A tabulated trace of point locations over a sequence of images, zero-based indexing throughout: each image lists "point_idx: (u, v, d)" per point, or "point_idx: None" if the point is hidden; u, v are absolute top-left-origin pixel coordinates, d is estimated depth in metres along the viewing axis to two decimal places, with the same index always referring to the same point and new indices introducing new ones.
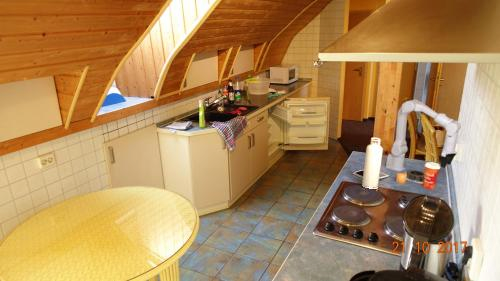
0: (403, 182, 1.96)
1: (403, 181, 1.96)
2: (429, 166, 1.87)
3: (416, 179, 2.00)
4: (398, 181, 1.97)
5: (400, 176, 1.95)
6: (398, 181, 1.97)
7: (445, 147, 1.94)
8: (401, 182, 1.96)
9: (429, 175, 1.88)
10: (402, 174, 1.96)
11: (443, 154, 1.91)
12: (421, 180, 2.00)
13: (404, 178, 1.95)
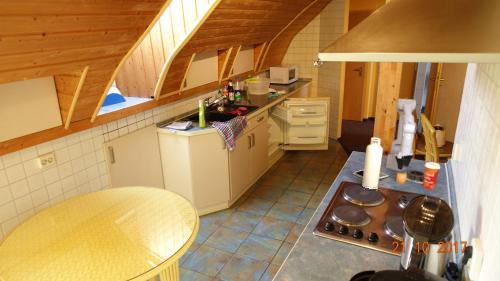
0: (403, 182, 1.96)
1: (403, 181, 1.96)
2: (429, 166, 1.87)
3: (416, 179, 2.00)
4: (398, 181, 1.97)
5: (400, 176, 1.95)
6: (398, 181, 1.97)
7: (401, 149, 1.92)
8: (401, 182, 1.96)
9: (429, 175, 1.88)
10: (402, 174, 1.96)
11: (399, 156, 1.89)
12: (421, 180, 2.00)
13: (404, 178, 1.95)
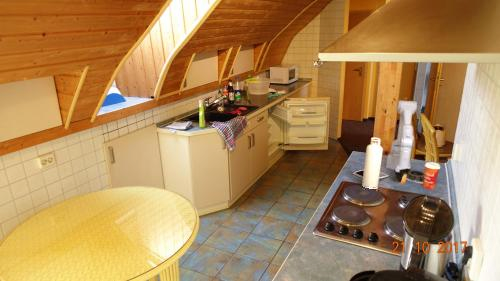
0: (403, 182, 1.96)
1: (403, 181, 1.96)
2: (429, 166, 1.87)
3: (416, 179, 2.00)
4: None
5: None
6: None
7: (399, 162, 1.94)
8: (401, 182, 1.96)
9: (429, 175, 1.88)
10: None
11: (397, 169, 1.91)
12: (421, 180, 2.00)
13: (404, 178, 1.95)
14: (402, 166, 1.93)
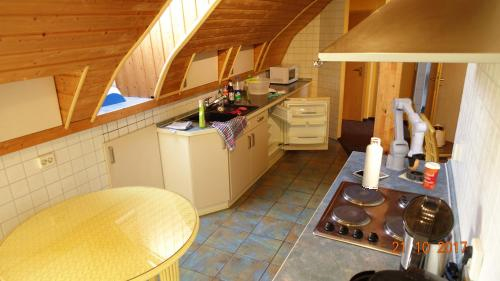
0: (415, 167, 1.98)
1: (415, 166, 1.98)
2: (429, 166, 1.87)
3: (416, 179, 2.00)
4: None
5: None
6: (410, 167, 1.99)
7: (412, 147, 1.96)
8: (413, 167, 1.98)
9: (429, 175, 1.88)
10: None
11: (409, 154, 1.93)
12: (421, 180, 2.00)
13: (416, 163, 1.98)
14: (414, 151, 1.95)
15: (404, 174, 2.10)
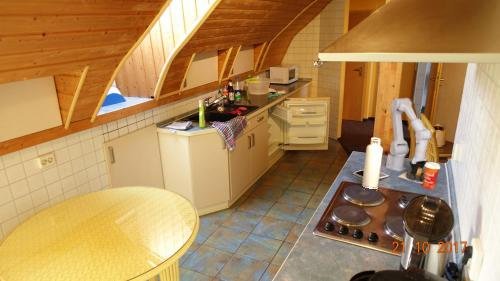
0: None
1: (419, 175, 2.02)
2: (429, 166, 1.87)
3: (416, 179, 2.00)
4: None
5: None
6: None
7: (416, 155, 2.00)
8: None
9: (429, 175, 1.88)
10: (418, 168, 2.02)
11: (413, 161, 1.97)
12: (421, 180, 2.00)
13: (420, 172, 2.01)
14: (418, 158, 1.99)
15: (404, 174, 2.10)
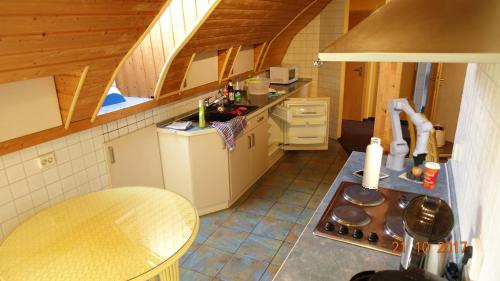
0: None
1: (419, 175, 2.02)
2: (429, 166, 1.87)
3: (416, 179, 2.00)
4: None
5: (416, 170, 2.01)
6: None
7: (417, 147, 1.98)
8: None
9: (429, 175, 1.88)
10: (418, 168, 2.02)
11: (414, 154, 1.95)
12: (421, 180, 2.00)
13: (420, 172, 2.01)
14: (419, 151, 1.97)
15: (404, 174, 2.10)
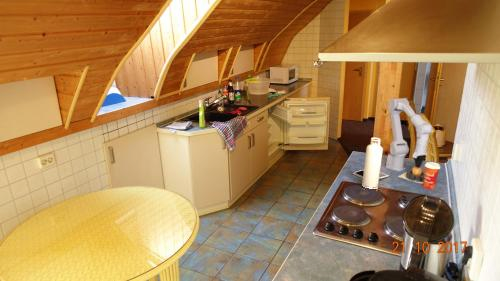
0: None
1: (419, 175, 2.02)
2: (429, 166, 1.87)
3: (416, 179, 2.00)
4: None
5: (416, 170, 2.01)
6: None
7: (416, 149, 1.99)
8: None
9: (429, 175, 1.88)
10: (418, 168, 2.02)
11: (414, 156, 1.96)
12: (421, 180, 2.00)
13: (420, 172, 2.01)
14: (419, 152, 1.98)
15: (404, 174, 2.10)
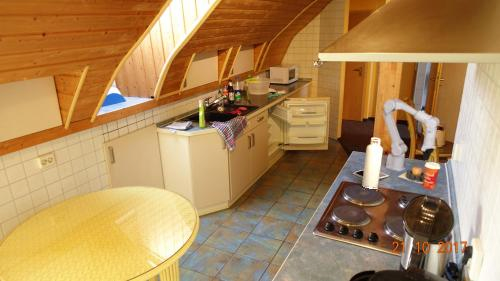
0: None
1: (419, 175, 2.02)
2: (429, 166, 1.87)
3: (416, 179, 2.00)
4: None
5: (416, 170, 2.01)
6: None
7: (425, 142, 2.03)
8: None
9: (429, 175, 1.88)
10: (418, 168, 2.02)
11: (423, 149, 2.00)
12: (421, 180, 2.00)
13: (420, 172, 2.01)
14: (427, 146, 2.02)
15: (404, 174, 2.10)
